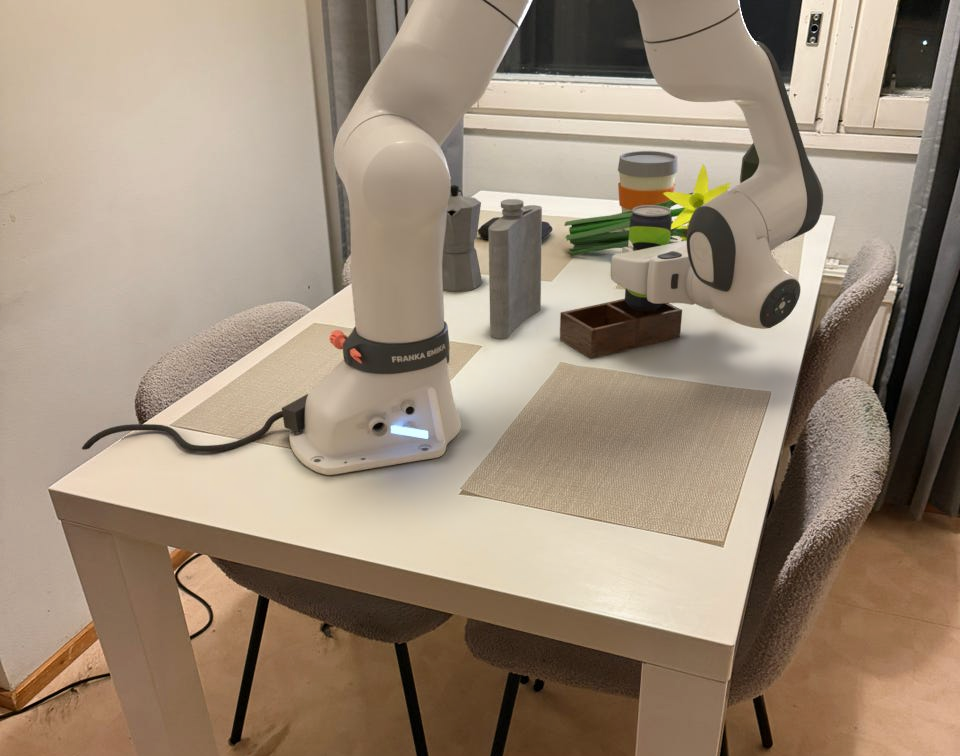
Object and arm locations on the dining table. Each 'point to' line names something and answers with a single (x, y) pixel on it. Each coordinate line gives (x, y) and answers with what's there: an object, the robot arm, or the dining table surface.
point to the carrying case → (484, 228)
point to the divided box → (617, 327)
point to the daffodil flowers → (599, 229)
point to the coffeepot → (461, 243)
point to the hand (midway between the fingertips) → (643, 248)
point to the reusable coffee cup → (645, 178)
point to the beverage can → (647, 242)
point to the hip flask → (514, 266)
